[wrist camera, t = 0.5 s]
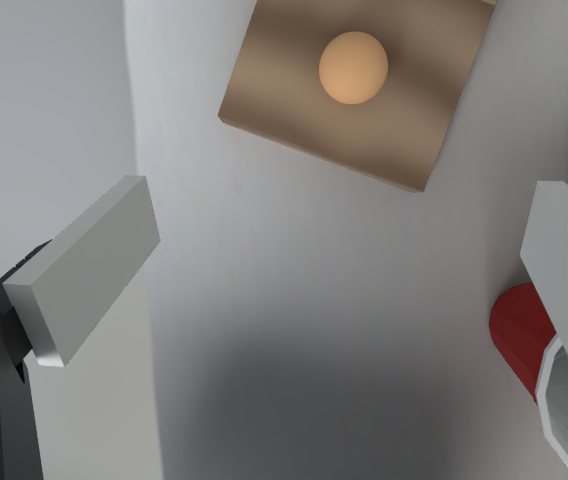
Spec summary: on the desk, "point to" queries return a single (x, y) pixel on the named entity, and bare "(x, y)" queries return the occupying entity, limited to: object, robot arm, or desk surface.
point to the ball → (353, 67)
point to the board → (374, 112)
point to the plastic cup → (535, 358)
